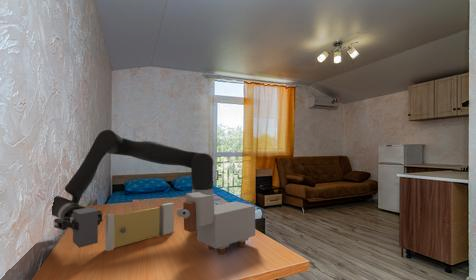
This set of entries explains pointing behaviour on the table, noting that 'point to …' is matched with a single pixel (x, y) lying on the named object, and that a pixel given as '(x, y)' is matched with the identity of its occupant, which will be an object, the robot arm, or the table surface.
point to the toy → (218, 221)
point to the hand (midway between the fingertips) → (87, 224)
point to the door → (136, 226)
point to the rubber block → (86, 227)
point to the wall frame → (164, 224)
